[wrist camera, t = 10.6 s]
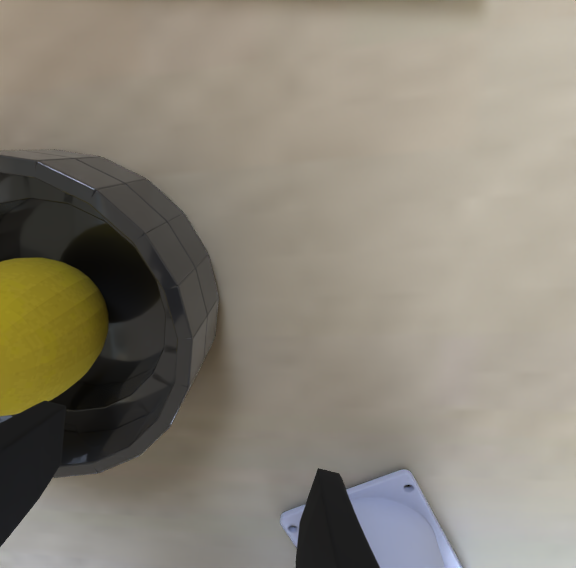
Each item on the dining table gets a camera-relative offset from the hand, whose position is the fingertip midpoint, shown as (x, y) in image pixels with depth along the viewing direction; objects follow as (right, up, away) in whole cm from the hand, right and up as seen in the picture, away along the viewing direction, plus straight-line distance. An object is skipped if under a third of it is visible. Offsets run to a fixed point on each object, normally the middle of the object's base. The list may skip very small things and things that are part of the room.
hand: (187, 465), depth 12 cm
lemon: (-7, +5, +9) cm, 12 cm away
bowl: (-7, +5, +9) cm, 12 cm away
